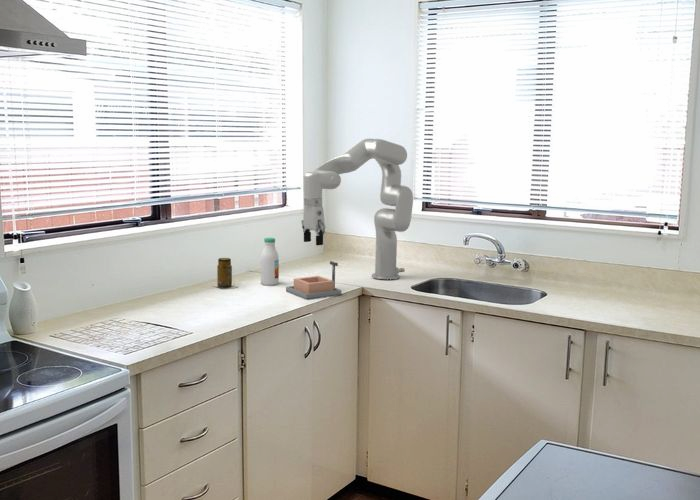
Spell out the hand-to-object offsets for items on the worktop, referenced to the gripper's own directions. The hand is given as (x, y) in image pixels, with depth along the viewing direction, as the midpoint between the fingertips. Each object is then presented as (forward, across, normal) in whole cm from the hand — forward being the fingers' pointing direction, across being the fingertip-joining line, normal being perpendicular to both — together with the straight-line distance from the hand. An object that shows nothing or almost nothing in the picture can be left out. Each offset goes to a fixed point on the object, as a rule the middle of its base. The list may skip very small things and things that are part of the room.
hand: (313, 243), depth 316 cm
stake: (+20, -1, -9) cm, 22 cm away
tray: (+20, -5, +3) cm, 21 cm away
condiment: (+20, +24, +29) cm, 42 cm away
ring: (+19, -5, +3) cm, 20 cm away
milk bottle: (+20, +20, +10) cm, 30 cm away
